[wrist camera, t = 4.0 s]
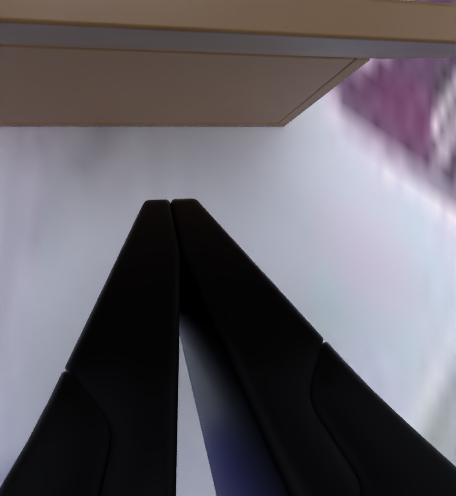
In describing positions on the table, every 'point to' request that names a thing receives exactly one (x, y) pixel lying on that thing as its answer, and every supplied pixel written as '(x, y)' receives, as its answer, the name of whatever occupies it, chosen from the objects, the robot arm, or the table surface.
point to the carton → (160, 86)
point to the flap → (238, 26)
